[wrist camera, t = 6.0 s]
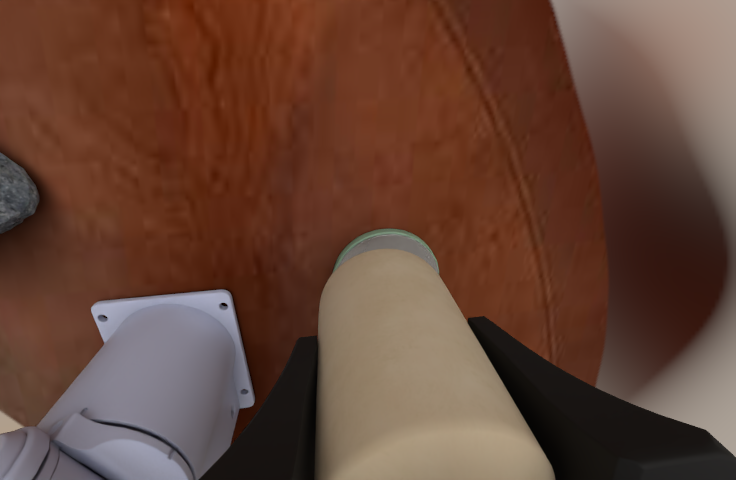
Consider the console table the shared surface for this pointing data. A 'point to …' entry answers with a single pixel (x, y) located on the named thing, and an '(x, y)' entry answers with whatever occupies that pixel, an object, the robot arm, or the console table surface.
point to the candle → (410, 383)
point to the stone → (15, 194)
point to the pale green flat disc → (388, 245)
